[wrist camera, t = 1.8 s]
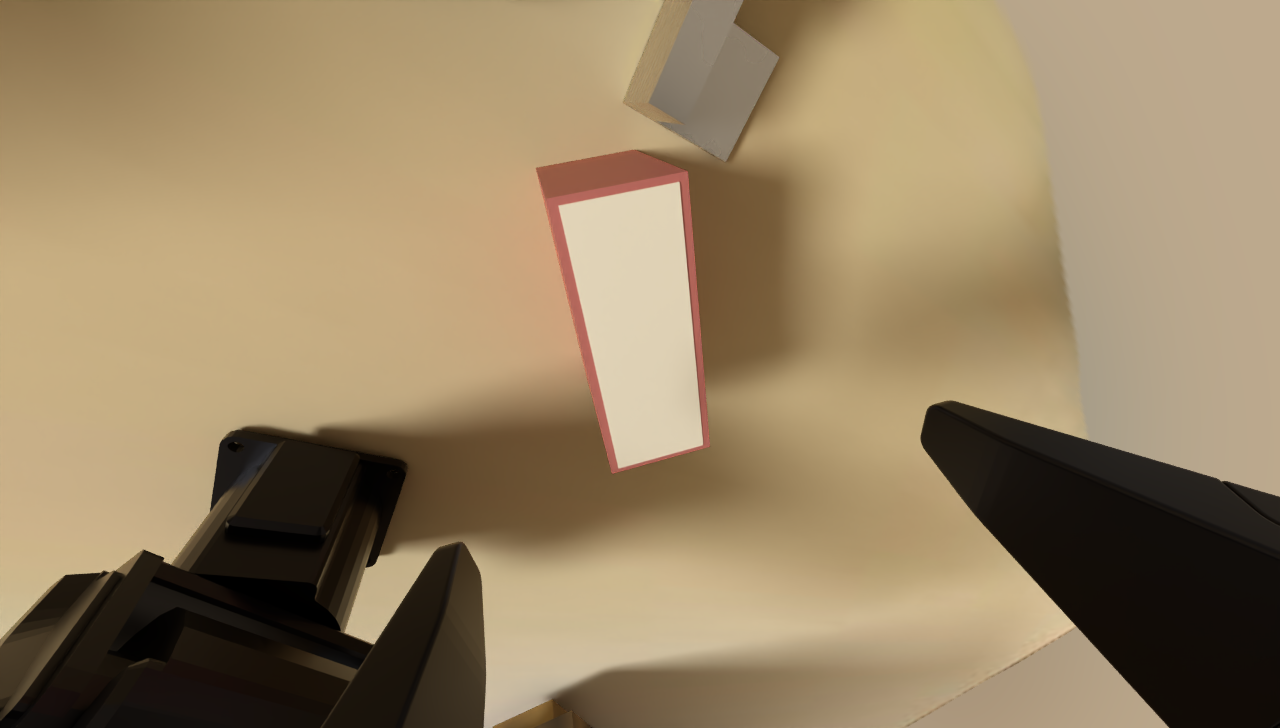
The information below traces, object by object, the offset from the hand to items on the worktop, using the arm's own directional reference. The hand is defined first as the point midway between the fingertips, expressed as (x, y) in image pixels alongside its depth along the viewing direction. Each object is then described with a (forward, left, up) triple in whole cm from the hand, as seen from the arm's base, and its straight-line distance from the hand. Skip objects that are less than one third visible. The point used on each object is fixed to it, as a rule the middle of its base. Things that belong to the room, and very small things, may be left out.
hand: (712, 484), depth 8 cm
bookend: (+8, 0, -12) cm, 14 cm away
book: (0, 0, -12) cm, 12 cm away
